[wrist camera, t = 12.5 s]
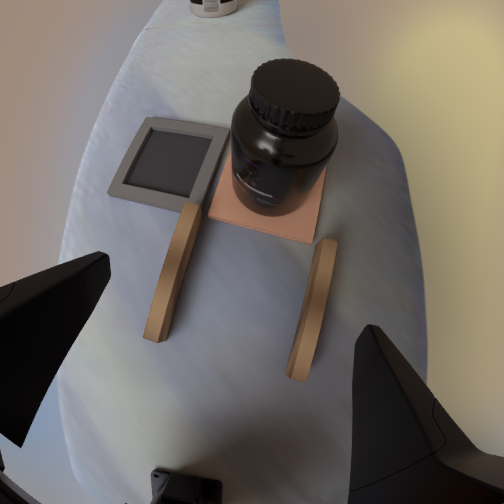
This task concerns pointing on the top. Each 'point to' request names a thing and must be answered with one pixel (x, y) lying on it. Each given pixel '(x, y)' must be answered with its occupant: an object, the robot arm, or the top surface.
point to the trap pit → (169, 164)
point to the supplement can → (212, 7)
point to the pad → (287, 226)
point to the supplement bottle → (283, 136)
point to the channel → (176, 270)
